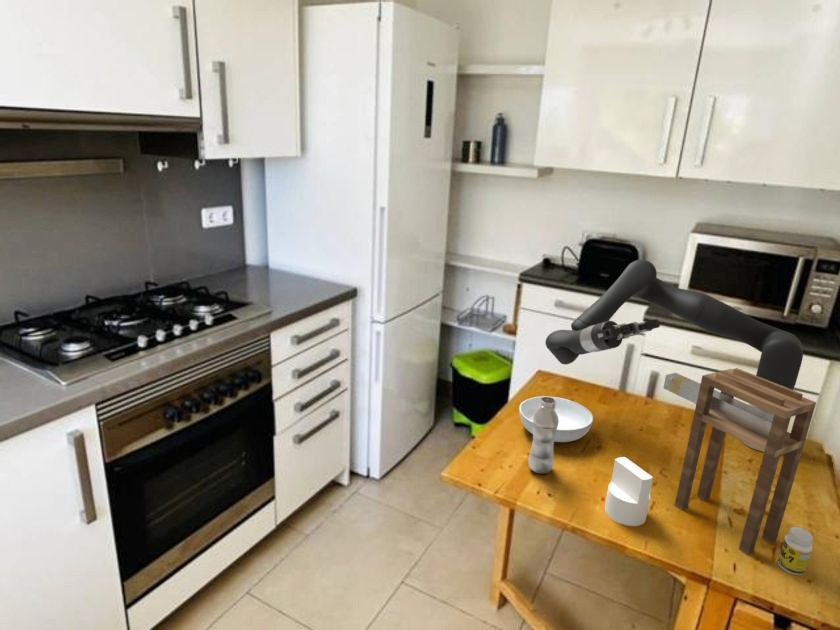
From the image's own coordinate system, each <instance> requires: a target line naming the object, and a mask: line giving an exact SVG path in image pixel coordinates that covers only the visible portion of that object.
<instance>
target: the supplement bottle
mask: <svg viewBox="0 0 840 630" xmlns="http://www.w3.org/2000/svg"><path fill="white" fill-rule="evenodd" d="M813 540H814V536H813V535H812V532H811V533H810V531H809V530H807V529H804V528H802V527H797V526H792V527H790V528H789V530H788V533H787V534H786V535H785V537H784V538H783V543H782V545H781V549H780V551H779V555H778V558H777V563H778V566H779V567H780V568H781V569H782V570H784V571H785V572H787V573H789V574H791V575H795V576H803V575H804V574H805V573H806V571H807V568H808V567H807V566H808V564H809V561H810V558H811V555H812V553H813V545H812V544H813Z"/></svg>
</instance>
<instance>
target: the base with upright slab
mask: <svg viewBox="0 0 840 630" xmlns="http://www.w3.org/2000/svg"><path fill="white" fill-rule="evenodd" d="M653 478H654V477H653V476H652V474H649V473H648V472H646V471H645V470H644V469H642V468H641V467H640V466H639V465H637V464H636V463H634V462H633V461H631V460H630V459H629V458H627V457H626V456H622V457H619V456H618V457H617V458H615V459H614V464H613V469H612V476H611V481H610V483H609V484H608V486H607V494H606V499H605V504H604V505H605V506H604V511H605V513H606V515H607V516H608V518H610V520H612V521H615V523H617V524H621V525H624V526H628V527H637V526H641V525H643V524H644V523H645V522H646V520H647V514H648V510H649V505H650V502H651V501H650V500H651V488H652V483H653Z"/></svg>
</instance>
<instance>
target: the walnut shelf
mask: <svg viewBox="0 0 840 630" xmlns="http://www.w3.org/2000/svg"><path fill="white" fill-rule="evenodd" d="M715 389H716V390H717V391H718V390H719V392H720V393H723V394H725V395H727V396H729V397H732V398H734V397H735V398H734V399H736V398H737V400H741V401H742V402H743V401H744V403H747V404H749V403H750V404H752V405H754V406H757V407H759V408H761V409H763V410H766V411H768V412H770V413H772V414H774V417H773V421H772V425H771V429H770V433H769V436H768V438H766V437H764V436H762V435H759V434H757V433H755V432H753V431H751V430H749V429H747V428H745V427H743V426H741V425H739V424H737V423H734V422H732V421H730V420H728V419H726V418H724V417H722V416H720V415H718V414H716V413H714V412H712V411H710V405H711V401H712V396H713V392H714V390H715ZM816 405H817V402H816V401H814V400H812V399H809V398H807V397H804V394H803V393H802V392H799V391H796V390H794V389H793V390H791V389H789V388H786V387H784V386H781V385H779V384H776V383H774V382H771V381H768V380H766V379H763V378H761V377H758V376H756V374H753V373H750V372H748V371H745V370H742V369H740V368H738V367H735V368H727V369H723V370H720V371H716V372H712V373H708V374H704V375H702V376H701V380H700V389H699V394H698V398H697V403H696V404H695V408H694V413H693V419H692V423H691V427H690V432H689V435H688V437H689V438H688V441H687V447H686V451H685V456H684V461H683V464H682V467H681V468H682V469H681V473H680V478H679V483H678V487H677V491H676V492H677V493H676V497H675V502H674V506H675V507H676V508H678V509H680V510H681V511H683V510H686V509H688V507H689V503H690V498H691V495H692V490H693V485H694V480H695V477H696V472H697V467H698V463H699V459H700V455H701V454H700V453H701V449H702V445H703V440H704V436H705V432H706V428H707V427H706V426H707V425H709V426H711V427H712V428H711V433H710V438H709V441H708V445H707V446H708V447H707V451H706V455H705V459H704V464H703V468H702V472H701V477H700V481H699V486H698V490H697V495H696V497H697V498H699V499H700V500H701V501H703V502H706V501H708V500H710V499H711V496H712V495H711V494H712V491H713V486H714V482H715V479H716V474H717V469H718V466H719V461H720V458H721V457H720V456H721V453H722V447H723V445H724V444H723V443H724V440H725V435H726V434H727V435H729V436H731V437H733V438H734V439H737V440H739V441H740V442H742V443H743V442H744V443H746V444H748V445H750V446H752V447H754V448H756V449H758V450H757V451H759V450H760V452H762V453H763V455H762V460H761V464H760V467H759V471H758V475H757V478H756V482H755V485H754V486H755V487H754V490H753V493H752V497H751V501H750V505H749V509H748V512H747V516H746V520H745V524H744V528H743V531H742V535H741V539H740V541H739V542H740V543H739V547H738V550H739V551H740V552H741V553H743V554H745V555H747V556H749V555H752V554H753V553H755V548H756V545H757V540H758V538H759V537H758V536H759V534H760V531H761V527H762V523H763V518H764V516H765V513H766V509H767V505H768V502H769V497H770V495H771V489H772V486H773V483H774V479H775V476H776V472H777V469H778V465H779V461H780V458H781V456H782V455H784V456H783V460H782V463H781V466H780V470H779V474H778V478H777V481H776V485H775V487H774V491H773V495H772V499H771V503H770V506H769V510H768V513H767V517H766V521H765V524H764V529H763V532H762V535H761V539H762V540H763V541H765V542H767V543H768V544H770V545H771V544H773V543H775V542H777V539H778V536H779V532H780V530H781V524H782V522H783V519H784V514H785V511H786V509H787V504H788V501H789V498H790V494H791V492H792V487H793V485H794V482H795V477H796V473H797V470H798V468H799V462H800V460H801V458H802V457H801V456H802V453H803V449H804V446H805V442H806V440H807V439H806V438H807V436H808V433H809V428H810V425H811V422H812V419H813V415H814V412H815V408H816ZM792 417H794V420H793V424H792V427H791V431H790V432H788V428H789V425H790V421H791V418H792ZM744 443H743V444H744ZM756 449H755V450H756Z"/></svg>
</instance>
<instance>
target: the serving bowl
mask: <svg viewBox="0 0 840 630" xmlns="http://www.w3.org/2000/svg"><path fill="white" fill-rule="evenodd" d="M542 397H548V396H547V395H546V396H545V395H544V396H534V397H531V398H527V399H526V400H523V401H522V402H521V403H520V404H519V409H518V410H519V418H520V422H521V423H522V425H523V427H524V428H525V429H526V430H527V431H528V432H529V433H530V434H532V435H533V416H534V414H535V413H536V411H537V410H538V409H539V408H540V403H541V398H542ZM550 397H551V398H554V399H555V400H556V403H555V409H554V410H555V412H556V413H557V415H558V419H559V423H558V427H557V430H556V434H555V439H554V443H569V442H573V441H577V440H579V439H581V438H582V437H585V435H587V433H588V432H589V431H590V430H591V427H592V426H593V425H592V424H593V422H594V416H593V413H592V412H591V411H590V410H589V409H588V408H587V407H586V406H584V405H582V404H580V403H578V402H576V401H573V400H571V399H566V398H563V397H562V398H561V397H557V396H556V397H555V396H550Z"/></svg>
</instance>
